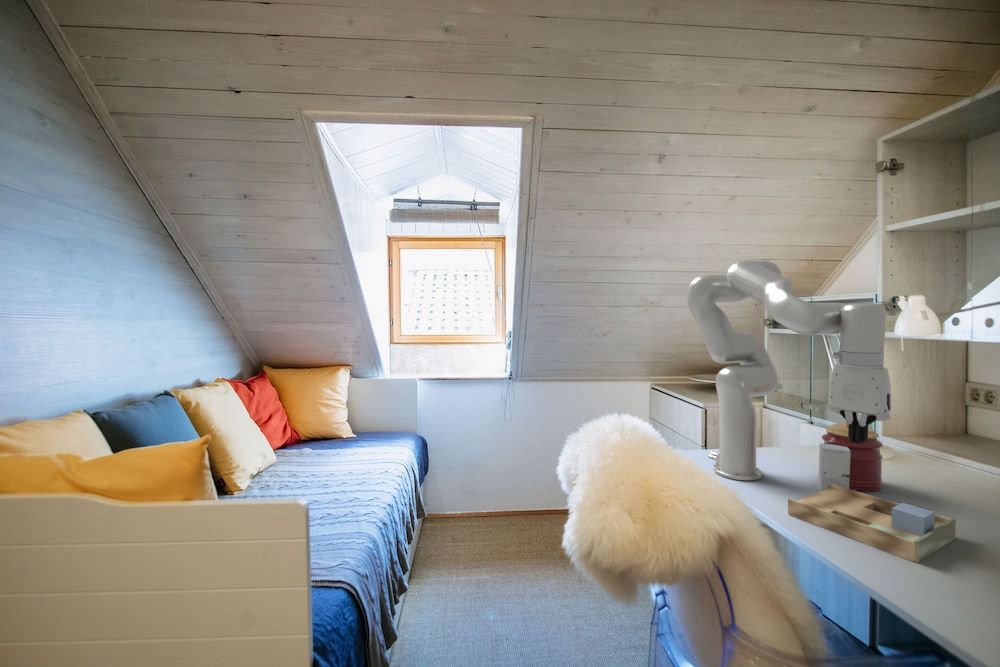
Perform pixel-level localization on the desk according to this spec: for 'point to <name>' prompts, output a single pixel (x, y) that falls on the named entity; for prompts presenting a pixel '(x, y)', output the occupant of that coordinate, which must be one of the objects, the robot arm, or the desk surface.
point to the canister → (859, 457)
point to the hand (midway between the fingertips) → (857, 441)
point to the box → (869, 522)
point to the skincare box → (834, 466)
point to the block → (912, 519)
